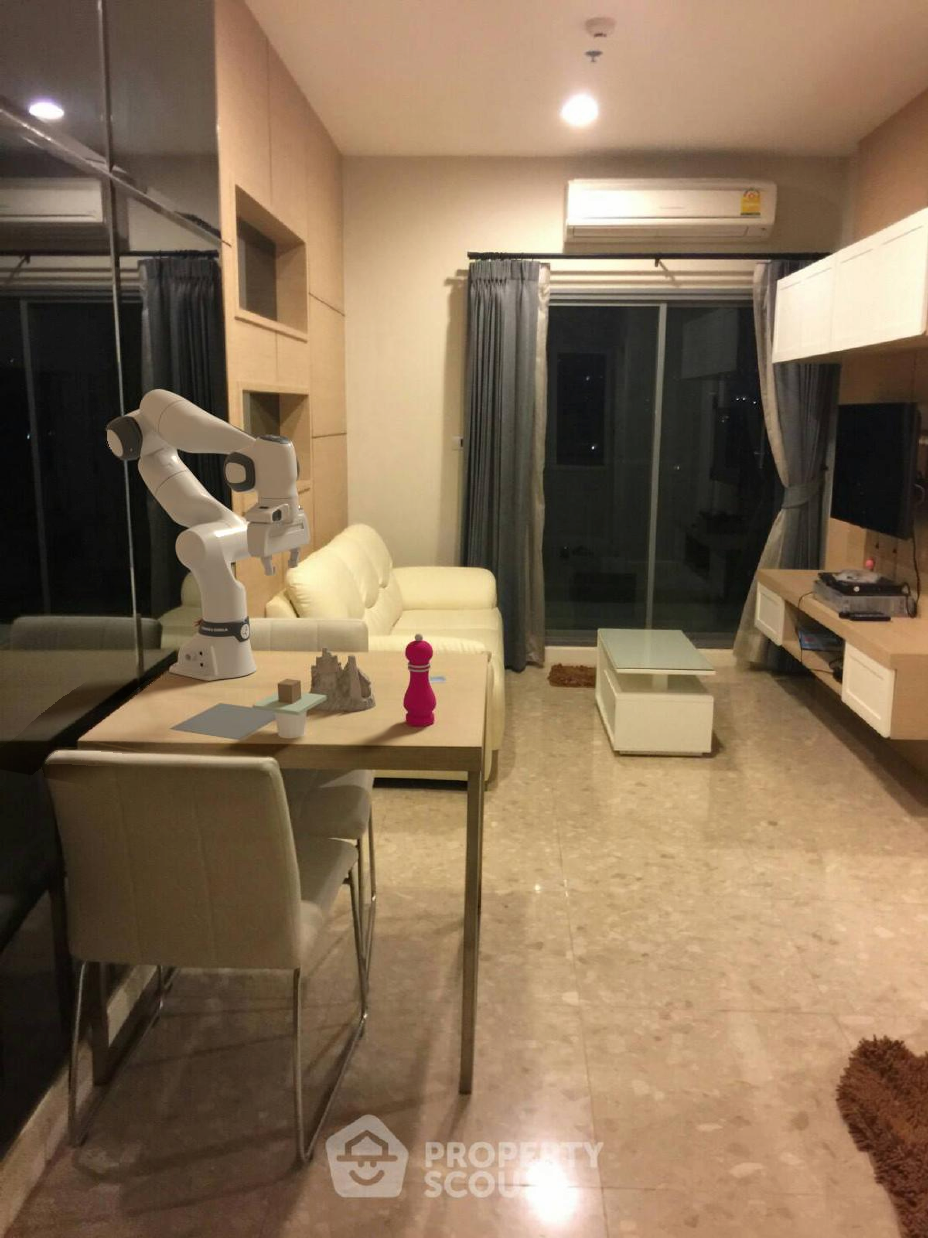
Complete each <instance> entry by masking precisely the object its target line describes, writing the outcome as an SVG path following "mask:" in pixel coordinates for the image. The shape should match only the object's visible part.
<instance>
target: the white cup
mask: <svg viewBox="0 0 928 1238" xmlns="http://www.w3.org/2000/svg"><path fill="white" fill-rule="evenodd" d="M275 717H276V719H275V721H276V722H275V723H276V728H277V729H276V731H277V735H278V737H279V738H282V739H297V738H300V737H303V736H304V735H305V734H306V732H307V731H306V729H307V711H306V712H304V713H302V714H300V715H299V716H298V715H292V714H285V713H278V712H275Z"/></svg>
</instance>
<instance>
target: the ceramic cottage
mask: <svg viewBox="0 0 928 1238" xmlns="http://www.w3.org/2000/svg"><path fill="white" fill-rule="evenodd" d="M338 657H339V656H338V654H335V655H333V654H332V652H331V651H330V650H328V647H327V646H322V654H321V656H316V657H315V664H311V666H310V675H311V676H310V677H311V679H310V683H311V684H310V689H309V690H310V691H308V693H311V694H319V695H326V697H327V699H326V700H324V701H323V702H321V703H319V704H317V705H316V706H314V707H312V708H314V709H317V710H321V711H329V712H331V711H343V713H344V712H358V711H359V712H360V711H367V710H370V709H373V708H375V707H376V703H377V702H376V698H375V695H374V694H373V692H372V687H371V685H372V681H371V679H370V677H369V675H368V674H366V672H364V671H363V670H362V669H361V668H359V667H358V666H357V658H356V655H355V654H348V656H347V663H346V664H345V665H344V667H343V668H342V662H341V661H339V659H338Z"/></svg>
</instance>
